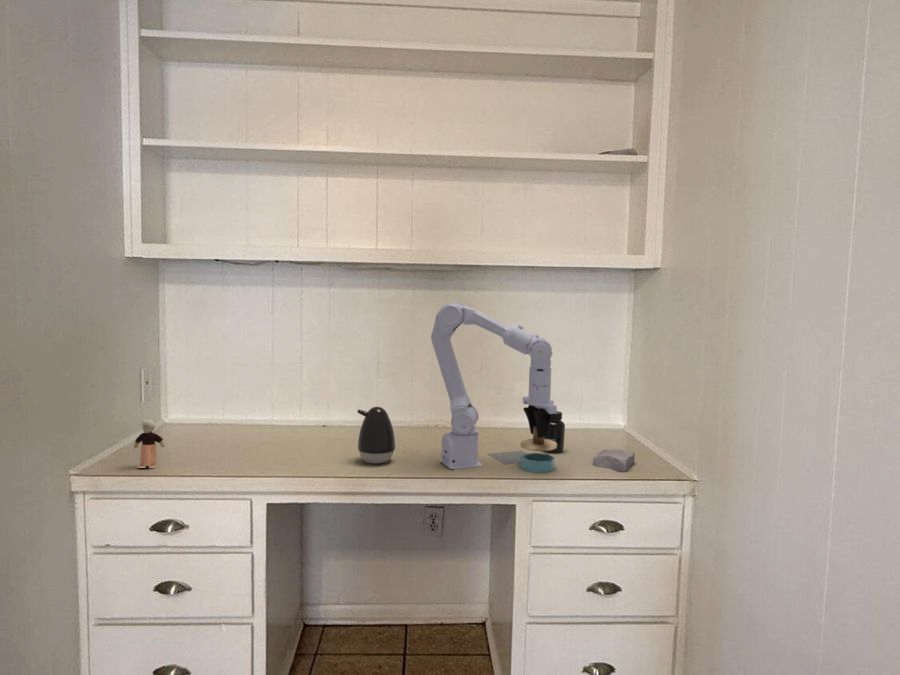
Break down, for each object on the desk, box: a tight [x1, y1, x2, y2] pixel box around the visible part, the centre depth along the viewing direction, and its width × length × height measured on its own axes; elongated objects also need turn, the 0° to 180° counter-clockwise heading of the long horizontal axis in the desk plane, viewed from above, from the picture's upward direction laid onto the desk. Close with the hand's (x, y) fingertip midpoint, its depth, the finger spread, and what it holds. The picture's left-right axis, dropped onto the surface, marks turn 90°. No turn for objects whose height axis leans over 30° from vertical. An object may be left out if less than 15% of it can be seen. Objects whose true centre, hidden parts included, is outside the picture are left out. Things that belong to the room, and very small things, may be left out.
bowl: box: [519, 452, 555, 474], centre depth 165 cm, size 8×8×3 cm
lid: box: [520, 426, 557, 452], centre depth 164 cm, size 10×10×5 cm
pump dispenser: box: [357, 406, 396, 465], centre depth 169 cm, size 10×10×15 cm
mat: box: [487, 450, 527, 465], centre depth 175 cm, size 11×11×1 cm
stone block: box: [592, 448, 636, 473], centre depth 171 cm, size 12×5×10 cm
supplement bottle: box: [541, 410, 566, 455], centre depth 182 cm, size 7×7×12 cm
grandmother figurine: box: [132, 418, 166, 466], centre depth 159 cm, size 8×4×13 cm, turn 106°
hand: (538, 435), depth 164 cm, fingers closed on lid, 3 cm apart
